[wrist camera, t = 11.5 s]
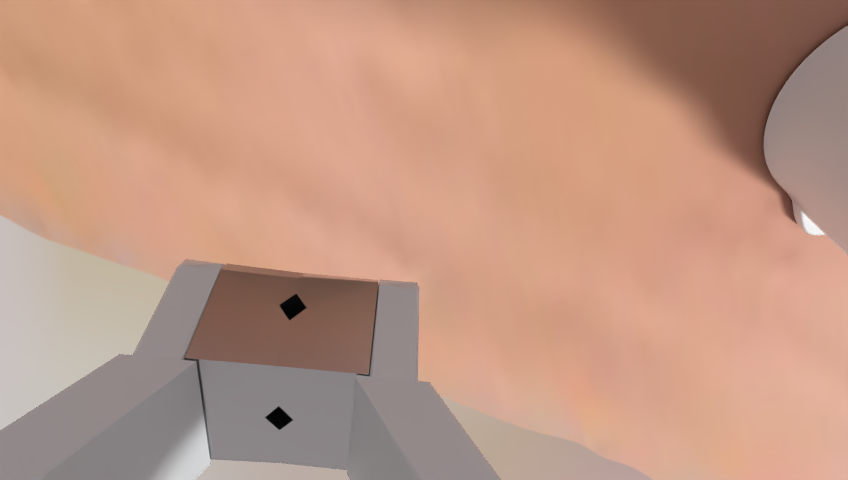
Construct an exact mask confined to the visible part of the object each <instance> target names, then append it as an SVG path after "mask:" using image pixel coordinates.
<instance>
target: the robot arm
mask: <svg viewBox="0 0 848 480" xmlns="http://www.w3.org/2000/svg"><path fill="white" fill-rule="evenodd" d="M764 155H765V160H766V164H767V166H768V169H769V171H770V173H771V175H772V176H773V178H774V179H775V181H776V182H777V183H778V184H779V185H780V186H781V187H782V188H783V189H784V190H785V191H786V192H787V194H788V195H789V196H790V198H791V200H792V205H793V212H794V217H795V220H796V223H797V224H798V225H799V226H800V227H801V228H802V229H803V230H804V231H805V232H806V233H808V234H810V235H827V236H828V237H829V238H830V239H831V240H832V241H833V242H834V243H835V244H836V245H837V246H838V247H839V248H840V249H841V250H842V251H843V252H845V253H846V254H847V255H848V26H846V27H844V28H843V29H841V30H840V31H838V32H837V33H835V34H834V35H833V36H831V37H830V38H829V39H827V40H826V41H825V42H824V43H822V44H821V45H820V46H819V47H818V48H816V49H815V50H814V51H813V52H812V53H811V54H810V55H809V56H808V57H807V58H806V59H805V60H804V61H803V62H802V63H801V64H800V65H799V67H798V68H797V69H796V70H795V71H794V72H793V74H792V75H791V76H790V78H789V79H788V80H787V82H786V83H785V85H784V86H783V88H782V89H781V91H780V93H779V94H778V96H777V98H776V100H775V102H774V104H773V106H772V109H771V111H770V114H769V117H768V120H767V123H766V128H765V133H764ZM418 331H419V286H418V284H417V283H414V282H402V281H390V280H380V281H379V285H378V280H371V279H360V278H350V277H339V276H328V275H318V274H307V273H297V272H289V271H281V270H273V269H265V268H257V267H249V266H241V265H233V264H226V265H224V264H218V263H211V262H203V261H195V260H187V259H186V260H185V261H184V262H183V263H181V264H180V265H179V266H178V267H177V269H176V271H175V273H174V275H173V277H172V279H171V281H170V283H169V284H168V286H167V288H166V291H165V292H164V294H163V296H162V298H161V300H160V302H159V304H158V306H157V308H156V310H155V312H154V314H153V316H152V318H151V320H150V322H149V324H148V326H147V328H146V330H145V332H144V334H143V336H142V338H141V340H140V342H139V344H138V346H137V348H136V350H135V352H134V353H133V355H123V354H119V355H118V356H116V357H114V358H113V359H111V360H110V361H108V362H107V363H105V364H104V365H102V366H101V367H99V368H97V369H96V370H94V371H93V372H91V373H90V374H88V375H86V376H85V377H83V378H82V379H80V380H79V381H77V382H75V383H74V384H72V385H71V386H69V387H68V388H66V389H64V390H63V391H61V392H60V393H58V394H57V395H55V396H54V397H52V398H50V399H49V400H47V401H46V402H44V403H43V404H41V405H39V406H38V407H36V408H35V409H33V410H32V411H30V412H28V413H27V414H26V415H24V416H22V417H21V418H19V419H18V420H16V421H15V422H13V423H11V424H10V425H8V426H7V427H5V428H4V429H2V430H0V480H195V479H196V478H197V477H198V476H199V475H200V474H201V473H202V472H203V471H204V470H205V469H206V468H207V467H208V466H209V465H210V464H211V462H210V459H215V460H235V461H253V462H273V463H280V462H281V463H286V464H295V465H305V466H314V467H324V468H332V469H343V470H347V474H348V476H349V479H350V480H501V479H500V478H499V476H498V475H497V474H496V472H495V471H494V469H493V468H492V467H491V465H490V464H489V463H488V461H487V460H486V459H485V457H484V456H483V454H482V453H481V452H480V450H479V449H478V448H477V446H476V445H475V444H474V442H473V441H472V440H471V438H470V437H469V435H468V434H467V433H466V431H465V430H464V429H463V427H462V426H461V424H460V423H459V422H458V420H457V419H456V418H455V416H454V415H453V414H452V412H451V411H450V410H449V408H448V407H447V405H446V404H445V403H444V401H443V400H442V399H441V397H440V396H439V394H438V393H437V392H436V390H435V389H434V388H433V386H432V385H431V384H430V382H423V381H418Z"/></svg>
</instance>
